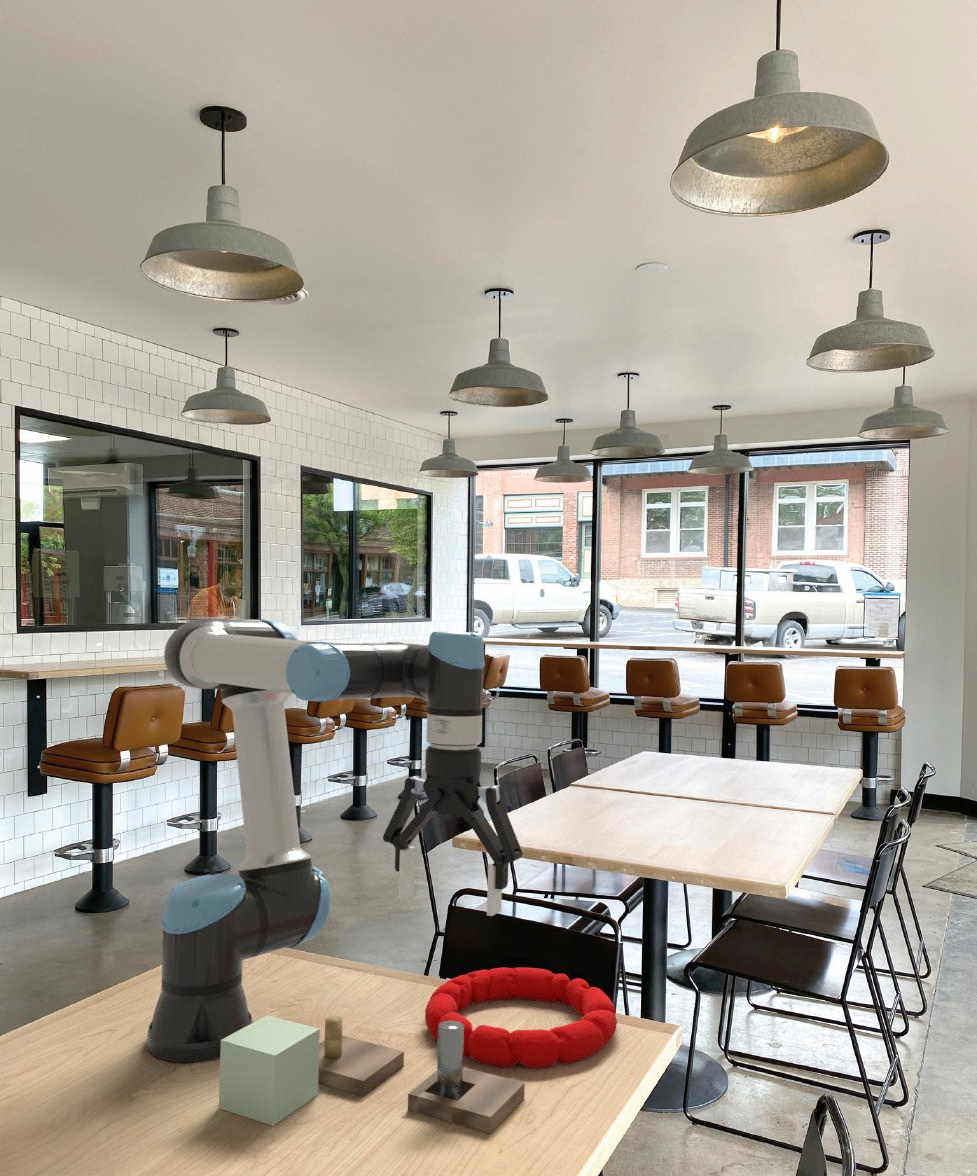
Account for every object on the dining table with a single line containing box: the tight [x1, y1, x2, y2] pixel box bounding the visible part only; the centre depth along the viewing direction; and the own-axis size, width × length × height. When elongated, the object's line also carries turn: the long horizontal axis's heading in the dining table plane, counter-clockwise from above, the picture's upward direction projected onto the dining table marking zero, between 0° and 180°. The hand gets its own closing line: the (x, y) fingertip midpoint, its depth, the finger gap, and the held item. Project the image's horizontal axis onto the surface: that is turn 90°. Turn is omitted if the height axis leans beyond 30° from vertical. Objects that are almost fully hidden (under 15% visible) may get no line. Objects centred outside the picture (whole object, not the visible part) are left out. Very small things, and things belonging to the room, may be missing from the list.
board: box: [318, 1015, 405, 1097], centre depth 130 cm, size 12×10×7 cm
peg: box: [436, 1021, 464, 1101], centre depth 122 cm, size 3×3×10 cm
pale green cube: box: [218, 1014, 321, 1127], centre depth 122 cm, size 9×9×9 cm
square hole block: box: [407, 1066, 526, 1134], centre depth 122 cm, size 12×10×2 cm
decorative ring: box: [424, 967, 618, 1069], centre depth 146 cm, size 7×30×30 cm
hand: (449, 904), depth 124 cm, fingers open, 13 cm apart
